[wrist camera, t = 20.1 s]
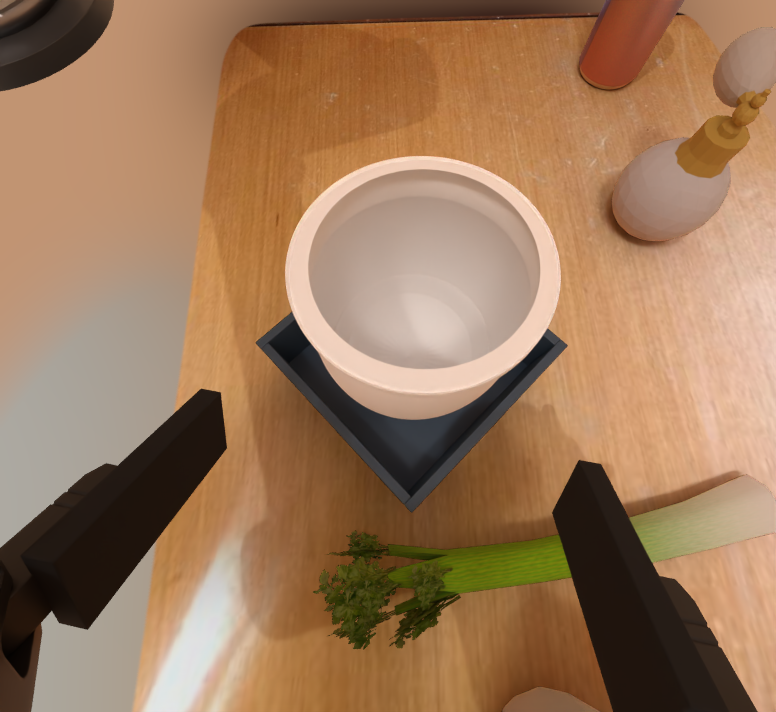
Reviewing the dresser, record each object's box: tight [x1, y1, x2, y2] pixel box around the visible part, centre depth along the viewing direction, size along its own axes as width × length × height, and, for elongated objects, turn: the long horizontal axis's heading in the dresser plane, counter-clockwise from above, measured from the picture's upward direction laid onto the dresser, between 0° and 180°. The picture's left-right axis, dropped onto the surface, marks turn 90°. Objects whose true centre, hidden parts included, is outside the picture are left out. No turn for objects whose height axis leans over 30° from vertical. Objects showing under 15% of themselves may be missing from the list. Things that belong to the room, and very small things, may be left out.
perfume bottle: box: [612, 27, 776, 241], centre depth 27 cm, size 8×10×12 cm
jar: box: [285, 156, 561, 420], centre depth 21 cm, size 11×10×15 cm
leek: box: [313, 474, 776, 650], centre depth 23 cm, size 6×7×30 cm
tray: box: [256, 312, 568, 513], centre depth 26 cm, size 14×14×6 cm
